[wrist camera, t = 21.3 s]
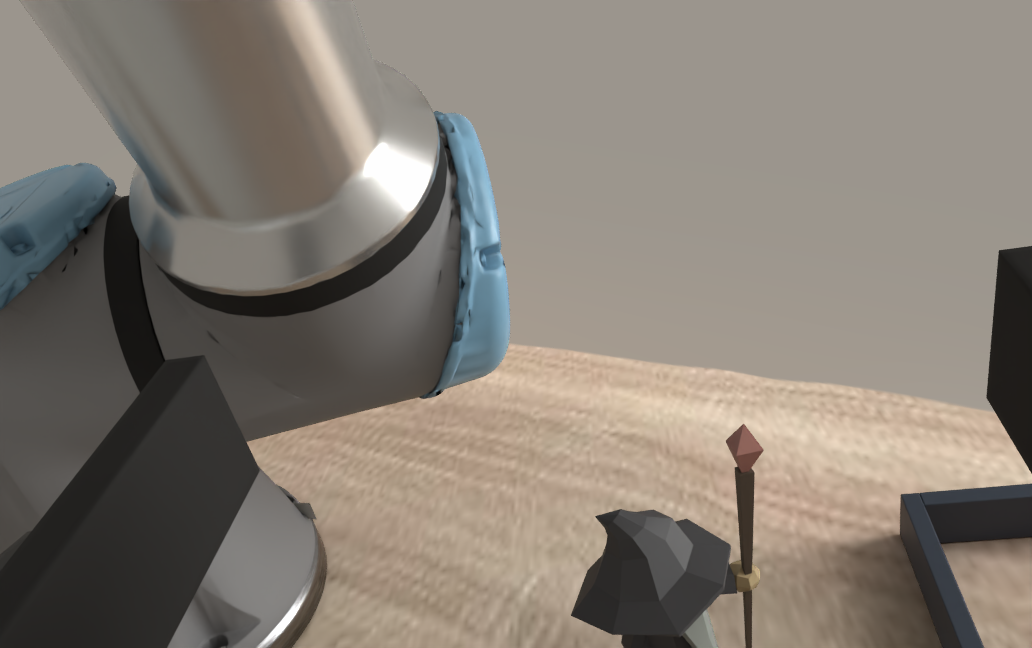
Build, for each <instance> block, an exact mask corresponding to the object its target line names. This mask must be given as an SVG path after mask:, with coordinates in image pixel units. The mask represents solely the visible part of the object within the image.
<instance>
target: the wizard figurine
mask: <svg viewBox="0 0 1032 648" xmlns="http://www.w3.org/2000/svg"><path fill="white" fill-rule="evenodd" d="M726 443H727V445H728V447H729V449H730V451H731V453H732V455H733V457H734V459H735V461H736V463H737V466H738V467H735V479H736V493H737V507H738V522H739V536H740V550H741V560H738V561H736V562H733V563H731V564H730V565H729V557H730V551H731V546H730V544H728V543H726V542H725V541H723V540H721V539H720V538H718V537H716V536H715V535H713V534H711V533H710V532H708V531H706V530H705V529H703V528H701V527H700V526H698V525H696V524H695V523H693V522H691V521H690V520H688V519H684V520H680V521H676V522H675V521H674V520H673V519H672V518H670V517H668V516H666V515H664V514H662V513H659V512H657V511H655V510H648V511H640V512H631V511H625V510H622V509H620V510H616V511H613V512H609V513H606V514H602V515H598V516H595V517H596V518H597V519H598V520H599V522H600V523H601V524H602V525H603V526H604V527H605V530H606V532H607V535H608V536H607V543H606V547H605V549H604V552H603V555H602V556H601V557H600V558H599V559H598V560H597V561H596V562H595V563H594V564H593V565H592V566H591V567H590V569H589V570H588V571H587V574H586V576H585V579H584V582H583V584H582V587H581V590H580V593H579V595H578V598H577V601H576V603H575V606H574V609H573V611H572V614H571V616H573V617H575V618H577V619H580V620H582V621H584V622H586V623H588V624H590V625H593V626H595V627H597V628H599V629H601V630H604V631H606V632H608V633H610V634H612V635H622V641H621V643H622V645H623V646H624V648H718V645H717V641H716V638H715V635H714V631H713V628H712V624H711V621H710V618H709V614H708V611H707V608H708V607H709V606H710V605H711V604H712V603H713V602H714V601H715V599H716V598H717V597H718V596H719V595H720V594H734V593H737V591H738V592H743V601H744V621H745V641H746V648H752V589H754V588H756V587H757V585H758V582H759V578H760V570H759V569H758V568H757V567H756V566H755V565H754V564H753V563H752V552H753V510H754V471H753V470H752V469H751V467H752V466H753V464H754V463H755V462H756V460H757V459H758V457H759V456H760V455H761V453H762V452H763V449H762V447H761V446H760V445H759V443H758V442H757V441H756V439H755V438H754V437H753V435H752V434H751V433H750V431H749V430H748V429H747V427H746V426H745V425H744V424H743V425H742V426H741V427H740V428H739V429H738V430H737V431H735V432H734V433H733V434H732V435H731V436H730V437H729V438H728V439H727V440H726Z"/></svg>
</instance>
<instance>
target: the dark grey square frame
mask: <svg viewBox="0 0 1032 648" xmlns="http://www.w3.org/2000/svg"><path fill="white" fill-rule="evenodd" d="M900 535H901V537H902V540H903V543H904V546H905V548H906V551H907V554H908V556H909V559H910V562H911V564H912V567H913V570H914V572H915V575H916V578H917V580H918V583H919V586H920V588H921V591H922V594H923V596H924V599H925V602H926V604H927V607H928V610H929V612H930V615H931V618H932V620H933V623H934V626H935V628H936V631H937V634H938V636H939V639H940V642H941V644H942V647H943V648H984V646H983V644H982V641H981V639H980V636H979V634H978V632H977V629H976V627H975V625H974V622H973V620H972V617H971V615H970V613H969V610H968V608H967V606H966V603H965V601H964V599H963V596H962V594H961V591H960V589H959V587H958V584H957V582H956V580H955V577H954V575H953V573H952V570H951V568H950V565H949V563H948V561H947V558H946V556H945V554H944V551H943V549H942V546H941V544H940V543H949V542H963V541H977V540H991V539H1005V538H1020V537H1032V484H1023V485H1011V486H998V487H986V488H974V489H962V490H949V491H937V492H925V493H920V494H919V493H913V494H902V495H901V507H900Z"/></svg>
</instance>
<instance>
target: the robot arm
mask: <svg viewBox="0 0 1032 648" xmlns="http://www.w3.org/2000/svg"><path fill="white" fill-rule="evenodd" d="M19 1H20V2H21V3H22V5H23V6H24V8H25V9H26V10H27V12H28V13H29V14H30V16H31V17H32V19H33V20H34V21H35V23H36V24H37V25H38V27H39V28H40V30H41V31H42V32H43V34H44V35H45V36H46V38H47V39H48V41H49V42H50V43H51V45H52V46H53V48H54V49H55V50H56V52H57V53H58V54H59V56H60V57H61V59H62V60H63V61H64V63H65V64H66V66H67V67H68V68H69V70H70V71H71V72H72V74H73V75H74V77H75V78H76V79H77V81H78V82H79V83H80V85H81V86H82V88H83V89H84V90H85V92H86V93H87V95H88V96H89V97H90V99H91V100H92V102H93V103H94V104H95V106H96V107H97V108H98V110H99V111H100V113H101V114H102V115H103V117H104V118H105V119H106V121H107V122H108V124H109V125H110V127H111V128H112V129H113V131H114V132H115V133H116V135H117V136H118V138H119V139H120V140H121V142H122V143H123V144H124V146H125V147H126V149H127V150H128V151H129V153H130V154H131V156H132V157H133V158H134V160H135V161H136V162H137V165H136V168H135V170H134V174H133V178H132V182H131V187H130V195H129V196H124V197H120V196H117V195H115V191H116V186H115V183H114V181H113V180H112V179H110V178H108V177H107V176H106V175H105V174H104V173H103V171H102V170H101V169H100V168H98V167H97V166H95V165H92V164H88V163H79V164H76V165H74V166H71V165H64V166H59V167H55V168H52V169H48V170H45V171H42V172H39V173H37V174H34V175H31V176H29V177H26V178H23V179H21V180H19V181H16V182H13V183H11V184H9V185H6V186H4V187H2V188H0V648H292V646H293V645H294V644H295V642H296V641H297V640H298V638H299V637H300V636H301V634H302V633H303V631H304V630H305V628H306V626H307V625H308V623H309V622H310V620H311V618H312V616H313V614H314V612H315V610H316V608H317V606H318V603H319V601H320V598H321V595H322V592H323V589H324V585H325V580H326V572H327V559H326V552H325V548H324V545H323V542H322V540H321V537H320V535H319V533H318V531H317V529H316V526H315V524H314V522H313V520H312V519H316V517H315V514H314V512H313V510H312V508H311V506H310V503H300V502H299V501H298V500H297V499H296V498H295V497H294V496H292V495H291V494H290V493H289V492H288V491H286V490H285V489H283V488H282V487H280V486H278V485H276V484H275V483H274V482H273V481H272V480H271V479H270V478H269V477H268V476H267V475H266V474H265V473H264V472H263V471H262V470H261V469H260V468H259V466H258V465H257V463H256V461H255V459H254V457H253V455H252V453H251V451H250V449H249V447H248V445H247V443H246V442H247V441H251V440H255V439H259V438H262V437H266V436H270V435H274V434H278V433H281V432H285V431H289V430H293V429H297V428H300V427H304V426H308V425H312V424H316V423H319V422H323V421H327V420H331V419H335V418H338V417H342V416H346V415H350V414H353V413H357V412H361V411H365V410H369V409H373V408H377V407H381V406H385V405H389V404H393V403H397V402H401V401H405V400H409V399H413V398H418V397H419V398H421V399H425V398H432V397H435V396H437V395H439V394H441V393H442V392H443V391H444V389H447V388H450V387H453V386H456V385H459V384H462V383H465V382H468V381H472V380H475V379H478V378H481V377H483V376H486V375H487V374H489V373H490V372H492V371H493V370H494V369H496V368H497V367H498V365H499V364H500V363H501V361H502V360H503V358H504V356H505V354H506V351H507V348H508V343H509V337H510V308H509V295H508V284H507V277H506V270H505V264H504V261H503V257H502V255H501V253H500V249H501V242H500V232H499V222H498V217H497V211H496V206H495V201H494V196H493V191H492V187H491V183H490V178H489V174H488V170H487V166H486V162H485V159H484V155H483V152H482V149H481V146H480V143H479V140H478V137H477V135H476V133H475V130H474V128H473V126H472V124H471V123H470V121H469V120H468V119H467V118H465V117H464V116H463V115H460V114H457V113H446V114H443V113H441V112H438V111H435V112H433V111H432V108H431V107H430V105H429V103H428V101H427V100H426V98H425V96H424V95H423V94H422V92H421V91H420V89H419V88H418V87H417V86H416V85H415V84H414V83H413V82H412V81H411V80H410V79H409V78H407V77H406V76H405V75H404V74H402V73H400V72H399V71H397V70H395V69H394V68H392V67H390V66H388V65H386V64H384V63H382V62H379V61H377V60H374V59H373V58H372V55H371V52H370V49H369V47H368V44H367V41H366V38H365V35H364V31H363V29H362V26H361V23H360V20H359V17H358V14H357V11H356V8H355V5H354V2H353V0H19ZM987 399H988V401H989V403H990V404H991V406H992V408H993V409H994V411H995V413H996V414H997V416H998V418H999V419H1000V421H1001V423H1002V424H1003V426H1004V428H1005V430H1006V431H1007V433H1008V435H1009V436H1010V438H1011V440H1012V441H1013V443H1014V445H1015V446H1016V448H1017V450H1018V451H1019V453H1020V455H1021V456H1022V458H1023V460H1024V461H1025V463H1026V465H1027V466H1028V468H1029V470H1030V471H1031V473H1032V246H1029V247H1021V248H1014V249H1007V250H999V256H998V268H997V279H996V291H995V303H994V316H993V327H992V339H991V352H990V362H989V374H988V386H987Z"/></svg>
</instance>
